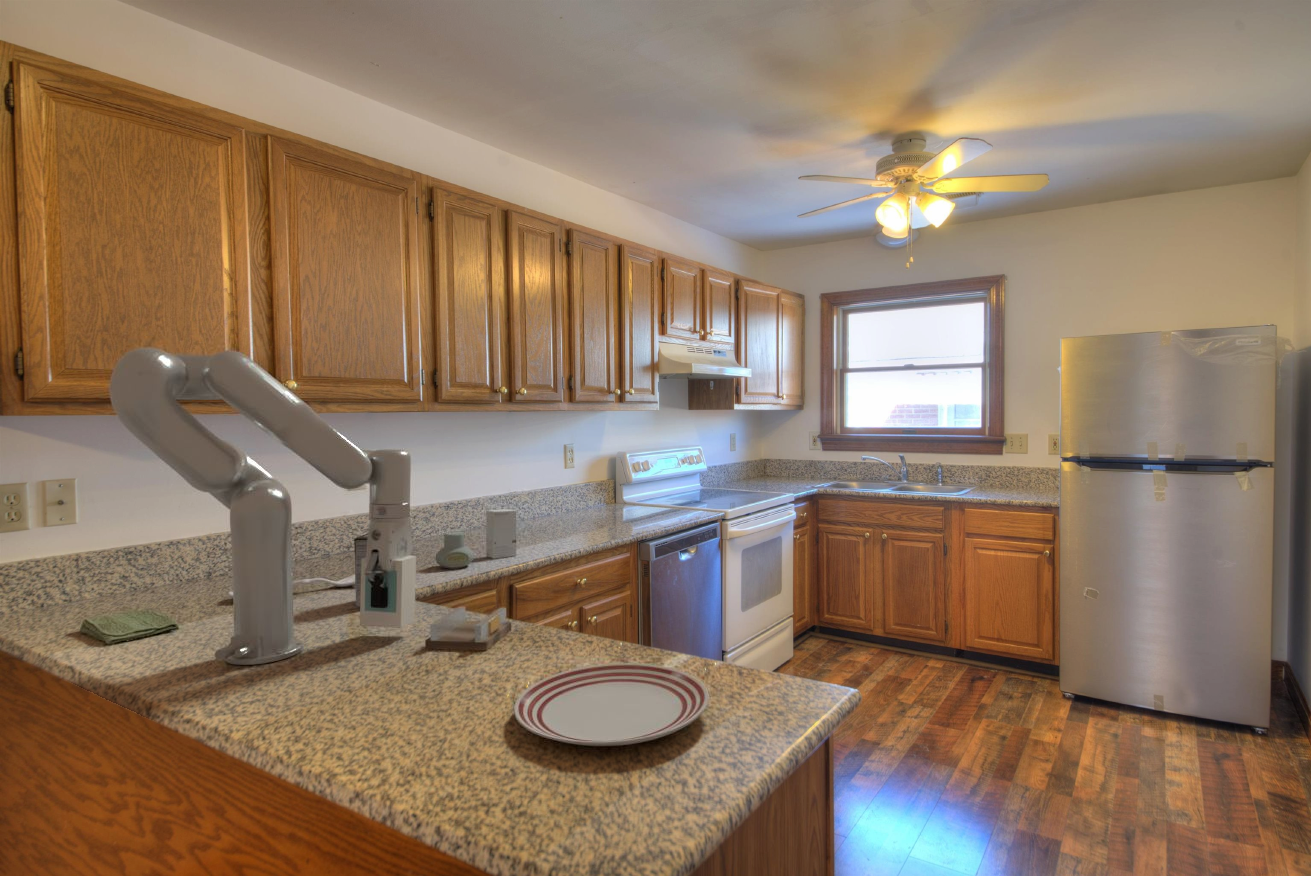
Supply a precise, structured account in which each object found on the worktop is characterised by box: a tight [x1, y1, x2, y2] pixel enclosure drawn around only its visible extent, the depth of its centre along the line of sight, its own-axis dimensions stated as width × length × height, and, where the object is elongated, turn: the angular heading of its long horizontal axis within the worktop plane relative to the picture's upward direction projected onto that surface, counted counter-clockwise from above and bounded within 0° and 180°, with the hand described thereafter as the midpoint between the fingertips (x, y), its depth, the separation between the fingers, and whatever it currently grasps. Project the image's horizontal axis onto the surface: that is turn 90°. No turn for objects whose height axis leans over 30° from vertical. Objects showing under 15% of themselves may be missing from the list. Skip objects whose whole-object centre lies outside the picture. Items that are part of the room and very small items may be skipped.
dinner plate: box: [513, 662, 710, 747], centre depth 98 cm, size 28×27×3 cm
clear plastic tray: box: [429, 606, 507, 642], centre depth 135 cm, size 13×10×3 cm
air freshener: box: [434, 531, 475, 570], centre depth 205 cm, size 11×8×10 cm
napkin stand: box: [424, 620, 512, 652], centre depth 135 cm, size 13×12×2 cm
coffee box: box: [353, 533, 368, 608], centre depth 165 cm, size 9×6×16 cm
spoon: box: [227, 573, 355, 599], centre depth 175 cm, size 9×32×4 cm, turn 125°
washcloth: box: [79, 608, 180, 645], centre depth 143 cm, size 13×18×3 cm
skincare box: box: [485, 508, 517, 560], centre depth 221 cm, size 8×6×15 cm
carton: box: [359, 555, 417, 629], centre depth 137 cm, size 6×8×13 cm
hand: (387, 602), depth 137 cm, fingers closed on carton, 5 cm apart
